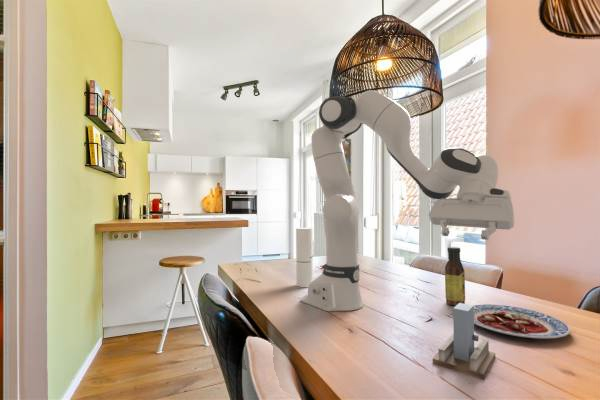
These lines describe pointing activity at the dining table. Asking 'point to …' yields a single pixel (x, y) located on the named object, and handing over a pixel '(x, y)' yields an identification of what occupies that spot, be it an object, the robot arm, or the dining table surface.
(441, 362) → the floor track
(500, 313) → the ceramic plate
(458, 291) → the sauce bottle
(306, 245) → the cylindrical container
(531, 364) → the dining table surface
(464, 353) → the upright grey pillar
